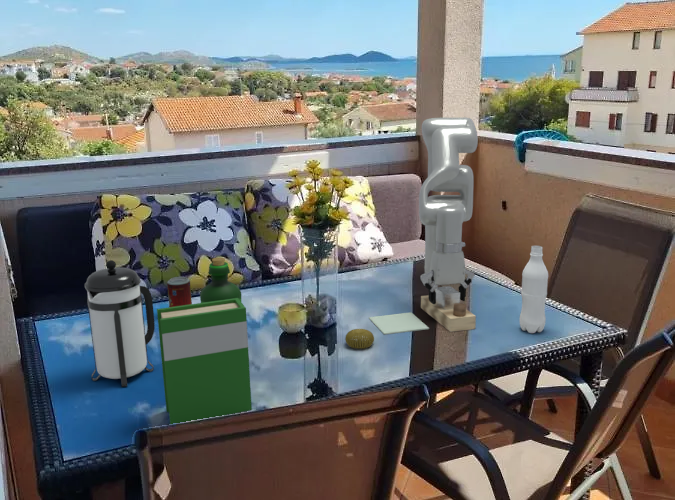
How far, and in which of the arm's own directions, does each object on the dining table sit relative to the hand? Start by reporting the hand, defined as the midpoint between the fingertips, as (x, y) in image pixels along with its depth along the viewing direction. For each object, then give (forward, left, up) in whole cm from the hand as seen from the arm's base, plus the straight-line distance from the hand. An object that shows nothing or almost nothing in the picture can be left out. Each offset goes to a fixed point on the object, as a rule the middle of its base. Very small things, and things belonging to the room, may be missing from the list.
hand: (447, 301), depth 191 cm
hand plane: (0, 0, -5) cm, 5 cm away
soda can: (-28, -79, -6) cm, 84 cm away
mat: (0, -16, -5) cm, 17 cm away
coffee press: (+11, -94, -6) cm, 95 cm away
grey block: (0, 0, -1) cm, 1 cm away
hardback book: (+37, -75, -6) cm, 84 cm away
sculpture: (+12, -32, -6) cm, 35 cm away
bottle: (+12, -69, -6) cm, 70 cm away
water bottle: (+17, +19, -6) cm, 26 cm away
